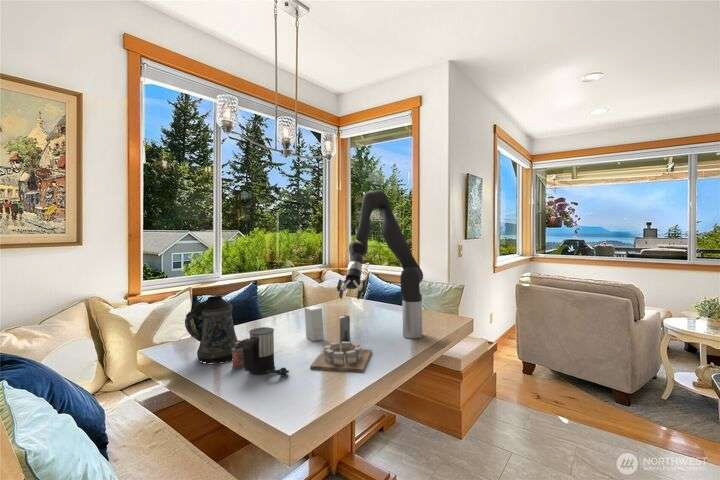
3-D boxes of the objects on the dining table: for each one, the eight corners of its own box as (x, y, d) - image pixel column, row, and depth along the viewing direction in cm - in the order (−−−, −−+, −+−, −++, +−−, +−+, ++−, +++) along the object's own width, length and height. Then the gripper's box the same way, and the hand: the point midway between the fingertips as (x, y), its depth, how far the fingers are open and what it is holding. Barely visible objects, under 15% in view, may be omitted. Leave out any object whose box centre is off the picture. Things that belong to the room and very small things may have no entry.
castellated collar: (371, 352, 142) (371, 340, 142) (363, 372, 123) (362, 358, 123) (325, 350, 146) (325, 338, 146) (310, 369, 127) (309, 355, 126)
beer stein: (248, 353, 143) (247, 294, 143) (207, 370, 127) (205, 303, 126) (223, 347, 152) (221, 291, 151) (181, 362, 135) (179, 299, 134)
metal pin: (351, 341, 158) (350, 315, 157) (348, 344, 153) (348, 318, 153) (341, 340, 159) (340, 315, 158) (338, 344, 154) (338, 317, 154)
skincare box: (324, 339, 161) (323, 308, 160) (312, 341, 158) (311, 309, 157) (316, 335, 168) (315, 305, 168) (304, 337, 165) (304, 306, 164)
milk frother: (254, 364, 132) (253, 326, 131) (295, 364, 131) (294, 326, 131) (240, 381, 117) (239, 338, 117) (285, 381, 117) (284, 338, 116)
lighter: (236, 370, 126) (235, 343, 126) (230, 368, 128) (229, 342, 128) (253, 363, 133) (252, 337, 133) (247, 361, 135) (246, 336, 135)
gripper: (339, 267, 176) (334, 293, 165) (366, 267, 174) (362, 294, 163) (342, 275, 182) (336, 301, 171) (368, 276, 179) (364, 303, 168)
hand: (349, 298), depth 167 cm, fingers open, 8 cm apart
